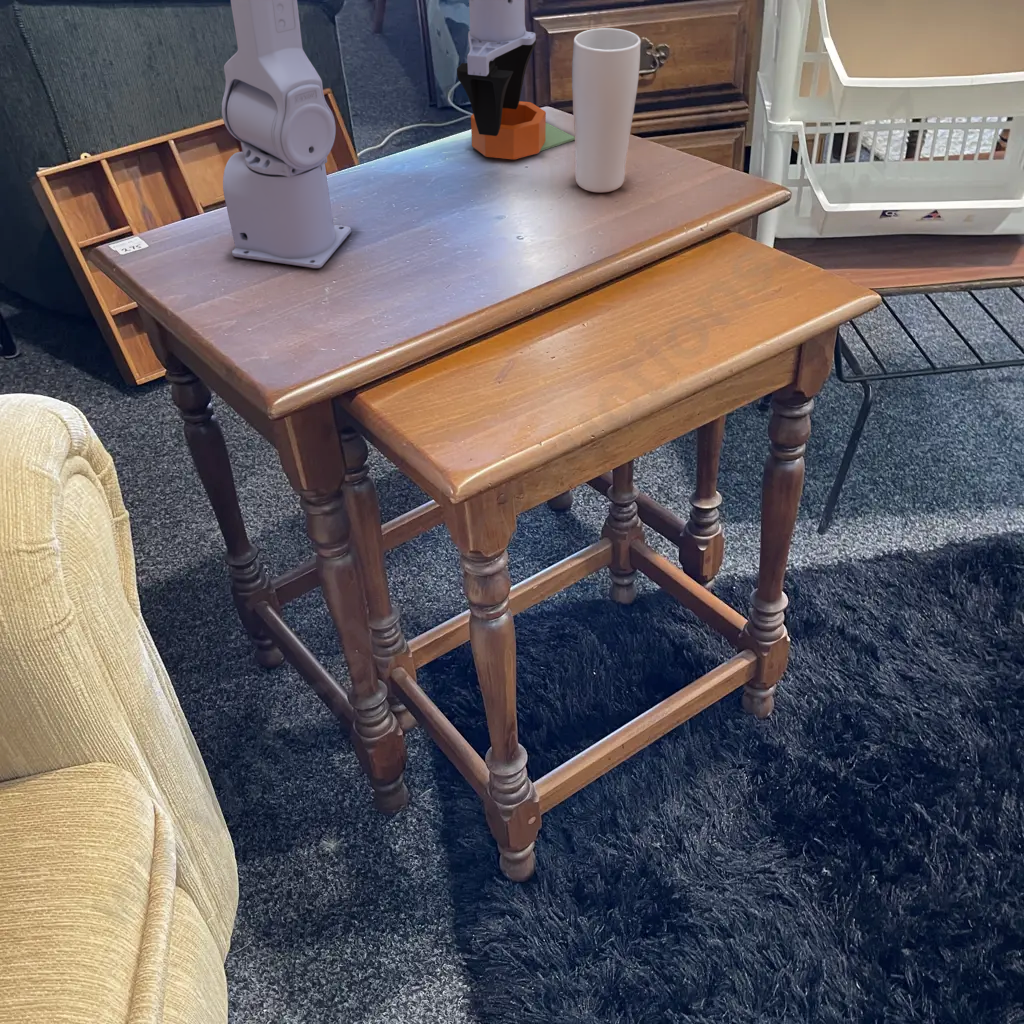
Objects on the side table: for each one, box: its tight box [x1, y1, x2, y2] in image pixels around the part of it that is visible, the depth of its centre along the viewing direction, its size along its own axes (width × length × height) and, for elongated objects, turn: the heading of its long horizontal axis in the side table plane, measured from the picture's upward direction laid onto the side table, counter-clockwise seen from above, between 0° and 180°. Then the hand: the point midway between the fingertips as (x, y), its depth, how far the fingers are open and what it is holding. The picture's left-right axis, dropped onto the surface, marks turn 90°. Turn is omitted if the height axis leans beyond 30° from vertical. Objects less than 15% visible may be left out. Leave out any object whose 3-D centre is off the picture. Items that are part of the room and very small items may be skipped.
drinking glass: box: [571, 27, 642, 194], centre depth 102 cm, size 7×7×15 cm
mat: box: [540, 122, 575, 152], centre depth 116 cm, size 8×8×1 cm
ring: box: [470, 100, 547, 160], centre depth 113 cm, size 8×8×4 cm
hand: (498, 120), depth 109 cm, fingers open, 7 cm apart
